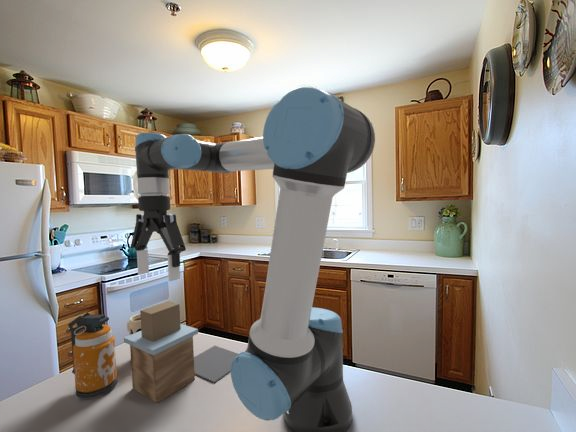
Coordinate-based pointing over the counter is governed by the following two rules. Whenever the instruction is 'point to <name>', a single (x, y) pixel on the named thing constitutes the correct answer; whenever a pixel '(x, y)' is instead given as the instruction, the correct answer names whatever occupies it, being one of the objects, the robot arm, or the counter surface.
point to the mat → (214, 363)
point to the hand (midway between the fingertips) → (158, 276)
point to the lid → (160, 329)
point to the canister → (93, 355)
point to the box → (162, 370)
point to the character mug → (134, 324)
